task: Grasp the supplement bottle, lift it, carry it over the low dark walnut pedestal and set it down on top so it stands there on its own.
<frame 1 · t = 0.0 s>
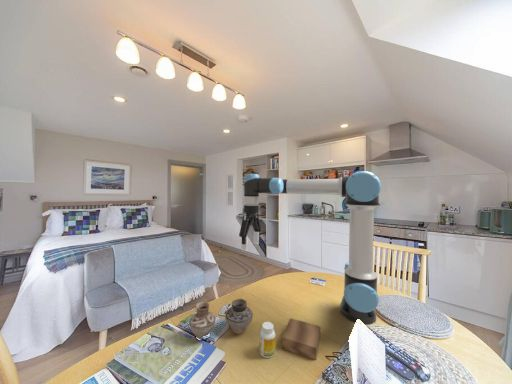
hand: (250, 247, 102), 28 cm above the table, fingers open, 13 cm apart
pottery: (222, 332, 81), on the table
walnut block: (301, 342, 76), on the table
supplement bottle: (267, 353, 71), on the table
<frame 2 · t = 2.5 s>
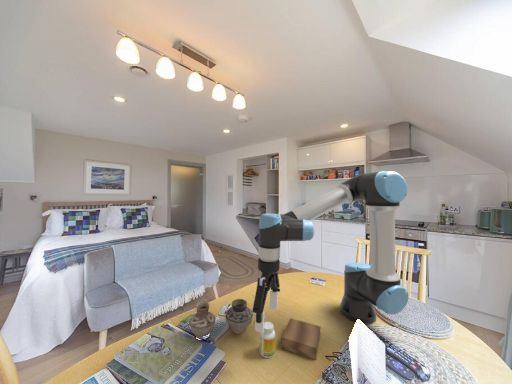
hand: (266, 319, 71), 12 cm above the table, fingers open, 13 cm apart
nothing on the table moved.
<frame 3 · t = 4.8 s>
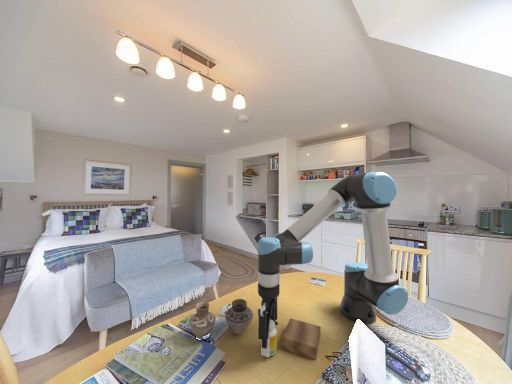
hand: (268, 348, 71), 1 cm above the table, fingers closed on supplement bottle, 5 cm apart
supplement bottle: (269, 350, 71), point 1 cm above the table, touching gripper
everything else where it was.
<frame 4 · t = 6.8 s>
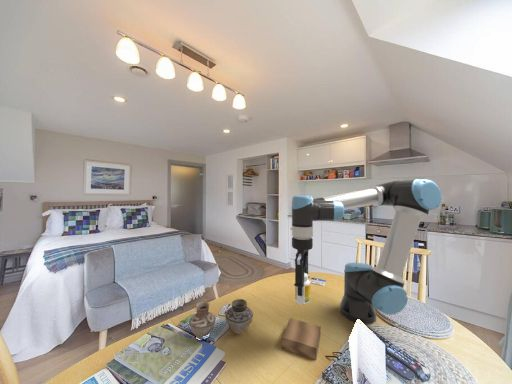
hand: (302, 299, 76), 16 cm above the table, fingers closed on supplement bottle, 5 cm apart
supplement bottle: (302, 300, 76), point 16 cm above the table, touching gripper
everything else where it was.
when the fingers open (4 cm above the table, at t = 9.0 s): supplement bottle stays where it is, resting on walnut block.
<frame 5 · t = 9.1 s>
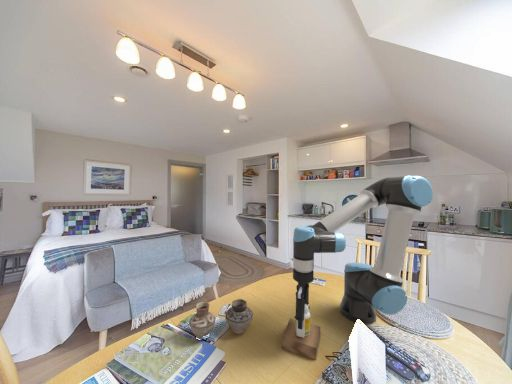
hand: (302, 330, 76), 4 cm above the table, fingers open, 5 cm apart
supplement bottle: (302, 332, 76), point 4 cm above the table, touching walnut block
everything else where it was.
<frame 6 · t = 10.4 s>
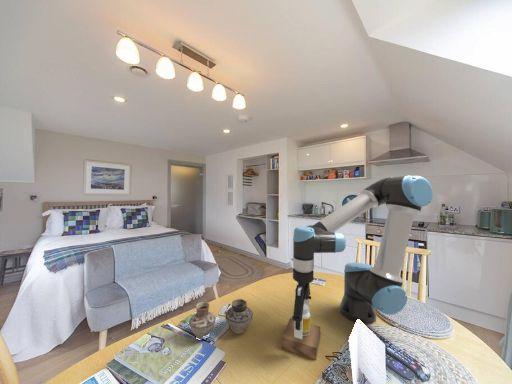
hand: (302, 325, 76), 6 cm above the table, fingers open, 13 cm apart
nothing on the table moved.
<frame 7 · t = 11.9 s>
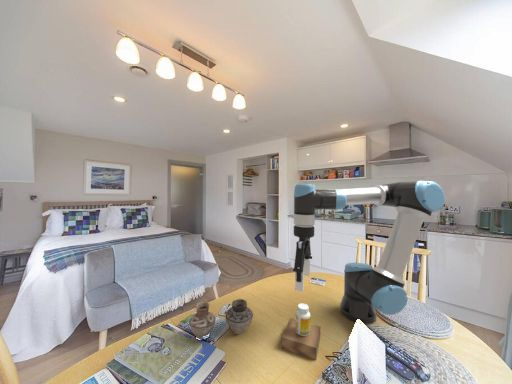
hand: (303, 282, 76), 22 cm above the table, fingers open, 13 cm apart
nothing on the table moved.
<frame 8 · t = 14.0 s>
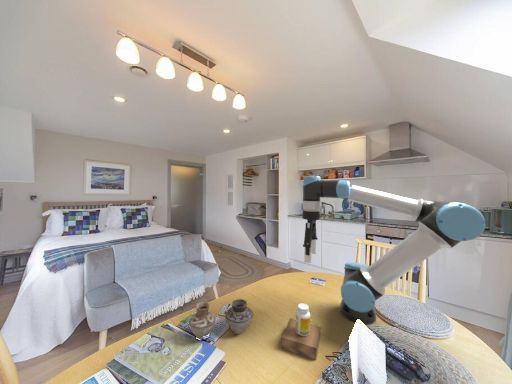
hand: (310, 257, 92), 27 cm above the table, fingers open, 13 cm apart
nothing on the table moved.
at the end: supplement bottle inside the target area on the walnut block (0.2 cm from its centre), point 3.8 cm above the walnut block's base; supplement bottle tilted 0°; the gripper is holding nothing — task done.
